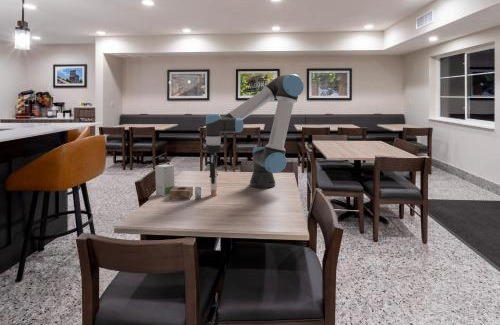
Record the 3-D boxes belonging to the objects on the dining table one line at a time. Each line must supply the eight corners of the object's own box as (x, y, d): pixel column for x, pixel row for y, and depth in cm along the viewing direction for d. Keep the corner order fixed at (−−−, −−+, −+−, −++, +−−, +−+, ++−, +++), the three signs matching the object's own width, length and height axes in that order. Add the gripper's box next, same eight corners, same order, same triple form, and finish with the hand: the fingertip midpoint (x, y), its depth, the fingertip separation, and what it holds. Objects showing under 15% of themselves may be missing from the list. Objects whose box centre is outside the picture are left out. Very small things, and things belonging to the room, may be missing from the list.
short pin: (201, 198, 188) (201, 186, 187) (200, 199, 185) (200, 188, 184) (195, 198, 188) (195, 186, 187) (194, 199, 185) (194, 188, 184)
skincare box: (164, 196, 190) (163, 167, 188) (155, 194, 194) (154, 165, 191) (175, 193, 197) (174, 164, 195) (166, 191, 201) (165, 163, 198)
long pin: (216, 194, 195) (216, 168, 193) (216, 195, 192) (216, 169, 190) (211, 194, 195) (211, 168, 193) (210, 195, 192) (210, 169, 190)
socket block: (193, 194, 194) (192, 186, 193) (189, 199, 184) (189, 191, 184) (174, 194, 194) (174, 186, 194) (169, 199, 185) (169, 190, 184)
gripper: (208, 142, 198) (208, 185, 201) (203, 146, 182) (204, 192, 186) (222, 142, 197) (222, 185, 201) (218, 146, 182) (219, 192, 185)
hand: (213, 188), depth 193 cm, fingers closed on long pin, 3 cm apart
